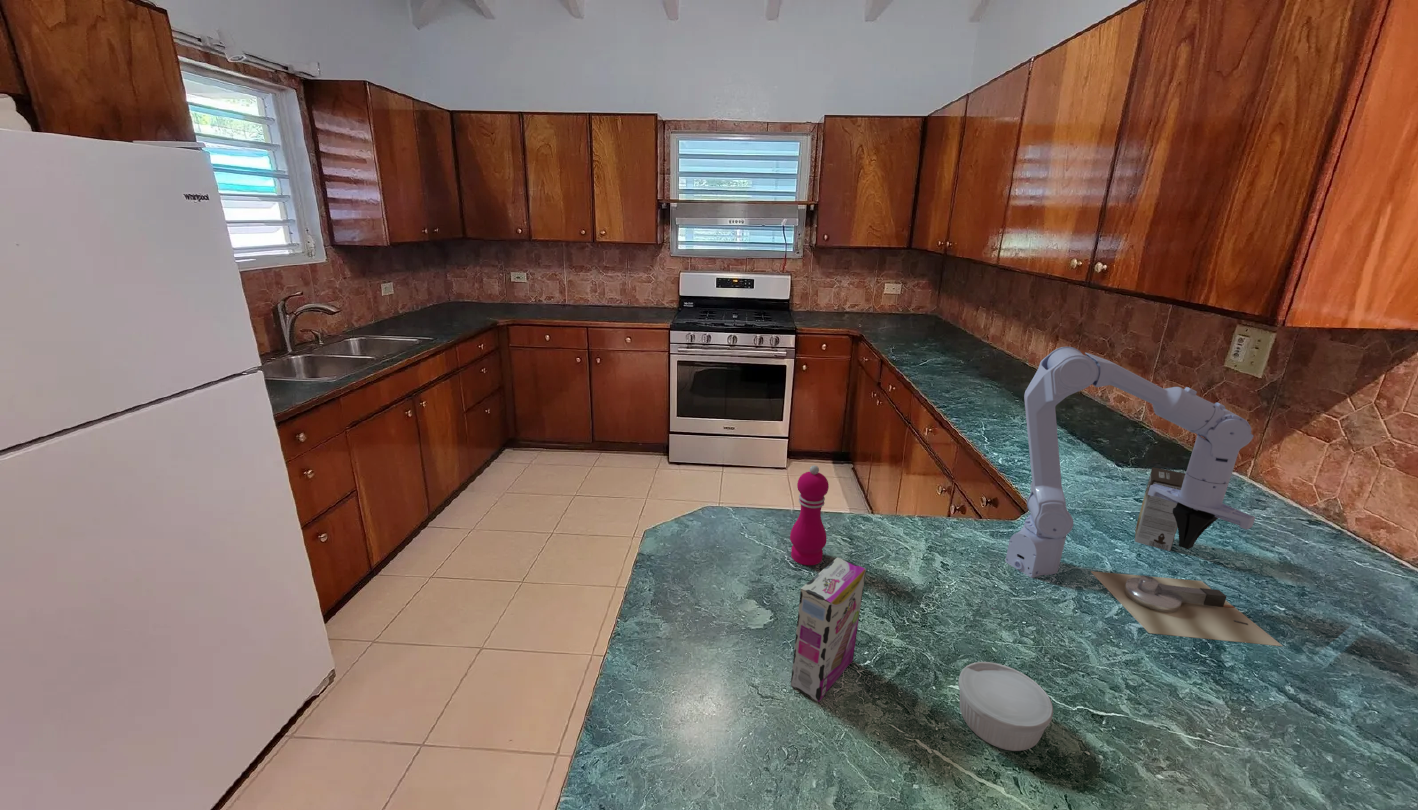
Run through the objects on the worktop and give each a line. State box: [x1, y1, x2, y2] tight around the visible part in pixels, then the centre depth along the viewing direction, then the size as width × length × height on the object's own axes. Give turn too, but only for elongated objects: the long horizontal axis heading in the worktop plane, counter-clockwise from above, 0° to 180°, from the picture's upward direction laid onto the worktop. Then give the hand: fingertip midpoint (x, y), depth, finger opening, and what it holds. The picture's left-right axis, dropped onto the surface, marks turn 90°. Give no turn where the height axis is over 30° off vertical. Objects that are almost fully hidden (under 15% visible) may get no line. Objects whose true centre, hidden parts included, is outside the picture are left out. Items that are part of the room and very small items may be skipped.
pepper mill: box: [789, 464, 829, 566], centre depth 110 cm, size 7×7×20 cm
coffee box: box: [1134, 466, 1186, 552], centre depth 120 cm, size 9×6×16 cm
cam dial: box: [1124, 574, 1228, 612], centre depth 99 cm, size 15×8×4 cm, turn 81°
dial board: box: [1090, 570, 1283, 647], centre depth 99 cm, size 20×18×1 cm
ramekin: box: [958, 661, 1054, 752], centre depth 74 cm, size 11×11×5 cm
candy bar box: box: [790, 556, 867, 703], centre depth 80 cm, size 11×5×16 cm, turn 141°
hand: (1185, 546), depth 100 cm, fingers closed
